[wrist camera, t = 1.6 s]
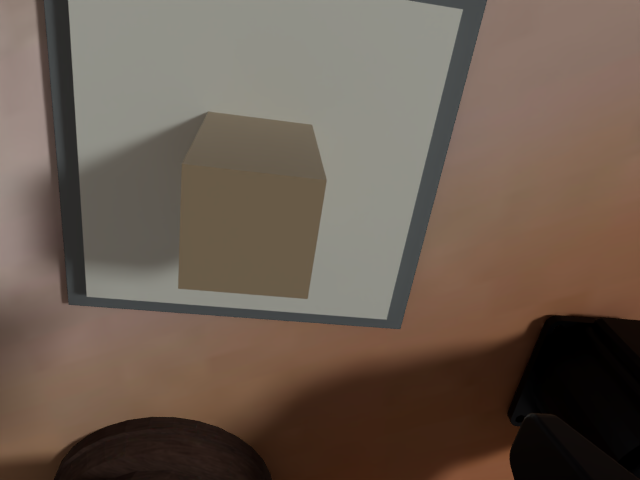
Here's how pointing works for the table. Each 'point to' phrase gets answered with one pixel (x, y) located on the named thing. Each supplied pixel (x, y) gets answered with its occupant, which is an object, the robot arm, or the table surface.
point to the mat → (71, 215)
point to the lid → (254, 147)
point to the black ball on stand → (162, 453)
